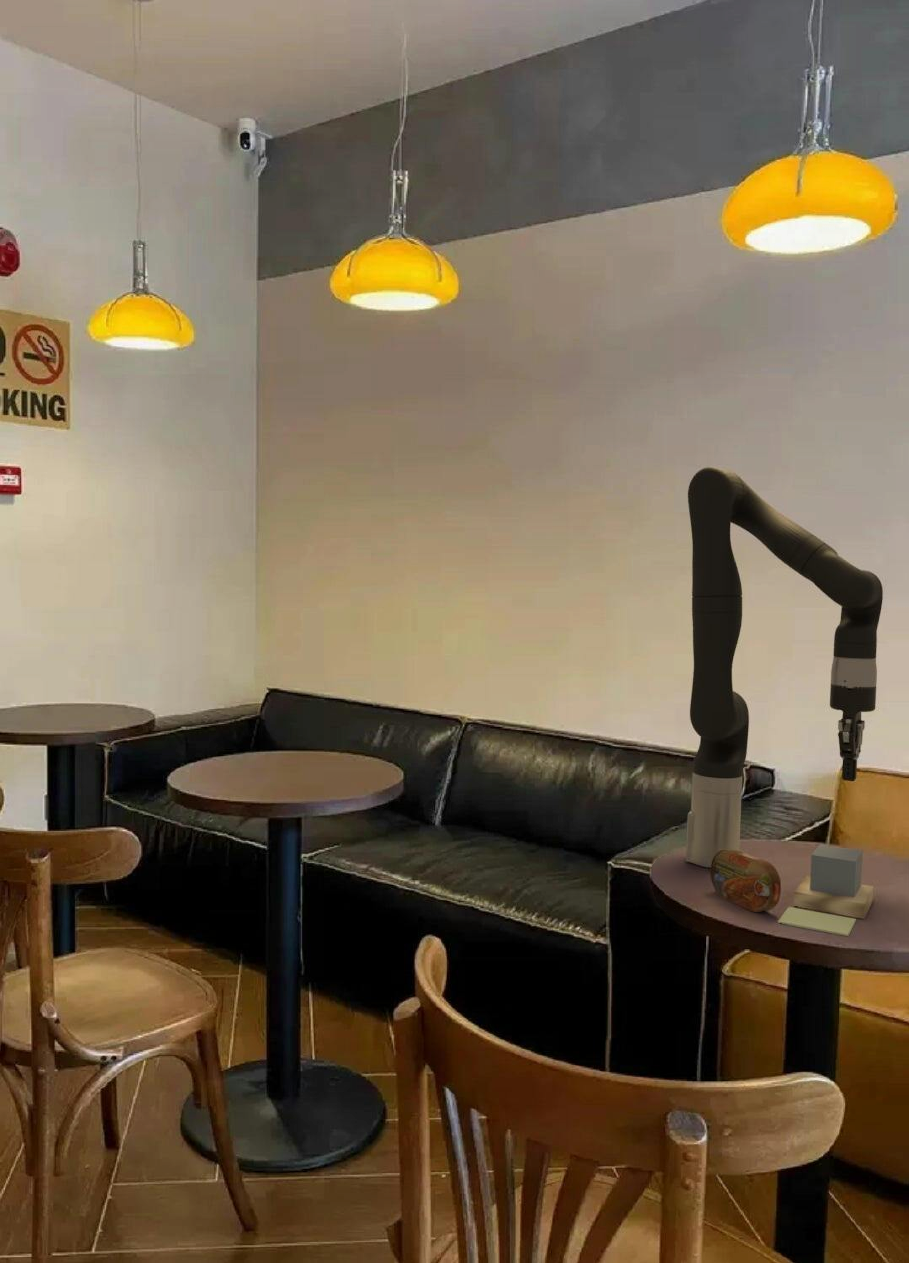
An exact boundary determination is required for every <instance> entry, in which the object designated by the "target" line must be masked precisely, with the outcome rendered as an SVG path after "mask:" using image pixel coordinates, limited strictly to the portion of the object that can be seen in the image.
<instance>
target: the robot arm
mask: <svg viewBox="0 0 909 1263" xmlns="http://www.w3.org/2000/svg"><path fill="white" fill-rule="evenodd" d="M689 482H690V483H689V485H688V489H687V490H688V491H687V503H688V512H689V520H690V529H691V531H690V532H691V541H692V552H691V554H692V556H691V557H692V560H691V561H692V562H691V568H692V570H691V573H692V574H691V575H692V579H691V580H692V585H691V612H692V613H691V617H692V618H691V619H692V651H693V653H692V654H693V672H692V673H693V674H692V686H691V694H690V696H691V697H690V705H689V706H690V707H689V720H690V723H691V725H692V728H693V730H694V731H695V733H696V734H697V735H698V736H699V737H700V739H699V740H700V741H699V747H698V749H697V752H696V754H695V756H694V757H693V762H692V778H691V780H692V782H691V783H692V784H691V807H690V811H689V812H687V822H686V823H687V825H686V844H685V846H686V847H685V849H686V851H685V862H687V863H691V864H694V865H697V866H700V867H703V868H709V869H711V863H712V860H713V858H714V856H715V855H716V853H718V852H719V851H721V850H736V851H740V838H741V837H740V835H741V816H742V815H741V813H742V811H741V810H742V795H743V793H742V788H743V773H744V772H743V770H744V765H745V762H746V759H747V754H748V753H747V751H748V741H749V730H750V729H749V728H750V714H749V707H748V704H747V702H746V700H745V699H744V698H743V696H741V695H740V693H738V692H736V691H735V690H733V689H734V688H733V664H734V663H733V662H734V657H735V653H736V649H737V647H738V643H739V638H740V635H741V634H740V633H741V631H742V623H743V622H742V621H743V590H742V588H743V587H742V581H741V578H740V573H739V569H738V566H737V562H736V559H735V557H734V555H735V554H734V552H733V549H732V542H731V524H734V525H735V526H737V527H739V528H741V529H743V530H745V531H746V532H748V533H749V534H751V535H752V536H753V537H755V538H756V540H758V541H759V542H760V543H762V545H764V547H766V548H767V550H769V552H771V553H772V554H773V555H774V556H775V557H776V558H777V559H779V560H780V561H781V562H782V563H783V564H785V565H787V566H788V567H789V568H790V569H792V570H793V571H795V572H796V573H798V574H799V575H801V576H802V577H803V578H804V579H807V580H808V581H810V582H811V583H813V584H814V585H815V586H816V587H817V588H818V589H819V590H820V591H821V592H822V593H824V595H825V596H826V597H827V598H829V599H830V600H832V602H834V603H836V604H837V605H838V606H840V607H841V609H840V610H841V611H840V621H839V624H838V626H836V629H835V631H834V637H833V658H832V659H833V660H832V664H831V671H830V692H829V707H830V708H831V709H833V710H836V711H841V712H842V718H841V719H840V720H838V722H837V729H838V733H837V736H838V745H839V757H840V758H841V759H842V767H841V768H842V770H841V779H842V780H843V781H847V782H854V781H855V780H856V779H857V771H858V768H857V767H858V760H859V758H860V754H861V752H862V750H861V746H862V745H863V736H864V730H865V729H866V728H865V727H866V726H865V724H866V721H865V720H863V719H862V713H870V712H874V711H875V710H876V703H877V702H876V700H877V679H878V677H877V676H878V670H877V645H878V644H877V643H878V637H877V636H878V634H877V632H878V627H879V624H880V623H879V622H880V617H881V610H882V608H883V607H882V606H883V599H884V597H883V595H884V592H883V591H884V590H883V585H882V582H881V580H880V578H879V577H878V576H877V575H876V574H875V573H874V572H871V571H869V570H866V569H865V570H863V569H860V568H858V567H856V566H855V565H853V564H851V563H850V562H849V561H847V560H846V559H844V558H843V557H841V556H840V555H839V554H838V552H837V551H836V550H835V549H834V548H833V547H832V546H830V545H829V544H828V543H826V542H825V541H824V540H821V539H820V538H818V537H817V536H816V535H814V534H813V533H811V532H810V531H809V530H807V529H805V528H804V527H802V526H801V525H799V524H798V523H796V522H795V521H792V520H791V519H789V518H788V517H786V516H785V515H783V514H782V513H781V512H779V511H778V510H776V509H775V508H774V507H772V506H771V505H770V504H769V503H768V502H766V501H765V500H764V499H763V498H761V496H760V495H758V494H757V493H756V492H755V490H753V489H752V488H751V487H750V486H749V485H748V484H747V482H746V481H744V480H743V479H742V478H741V476H739V475H738V474H737V473H735V472H733V471H732V470H728V469H724V468H720V467H717V466H708V467H707V466H706V467H703V468H702V469H700V470H698V471H697V472H696V473H695V474H694V475H693V477H692V478H691V480H690V481H689Z"/></svg>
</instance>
